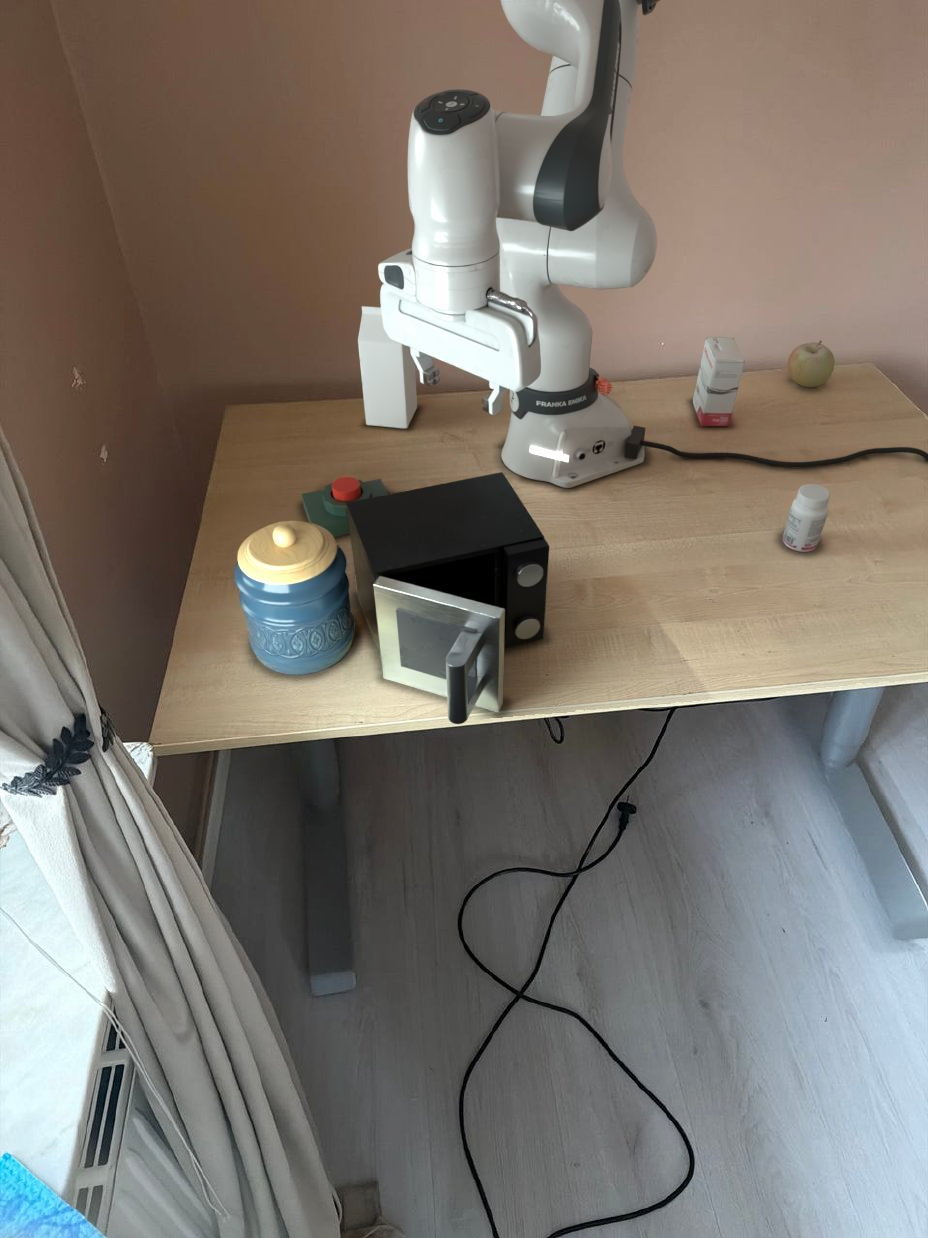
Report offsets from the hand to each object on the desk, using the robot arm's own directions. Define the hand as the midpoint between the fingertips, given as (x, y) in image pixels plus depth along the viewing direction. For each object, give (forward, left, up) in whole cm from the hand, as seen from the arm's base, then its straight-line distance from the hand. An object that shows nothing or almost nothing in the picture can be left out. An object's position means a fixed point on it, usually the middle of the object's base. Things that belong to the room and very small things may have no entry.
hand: (460, 396), depth 101 cm
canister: (+22, +4, -28) cm, 36 cm away
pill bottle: (-47, +7, -28) cm, 55 cm away
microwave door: (+10, +20, -27) cm, 35 cm away
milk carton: (-2, -45, -28) cm, 53 cm away
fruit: (-74, -32, -28) cm, 85 cm away
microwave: (+4, +7, -27) cm, 28 cm away
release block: (+11, -20, -27) cm, 35 cm away
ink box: (-53, -28, -28) cm, 66 cm away
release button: (+11, -20, -24) cm, 33 cm away
